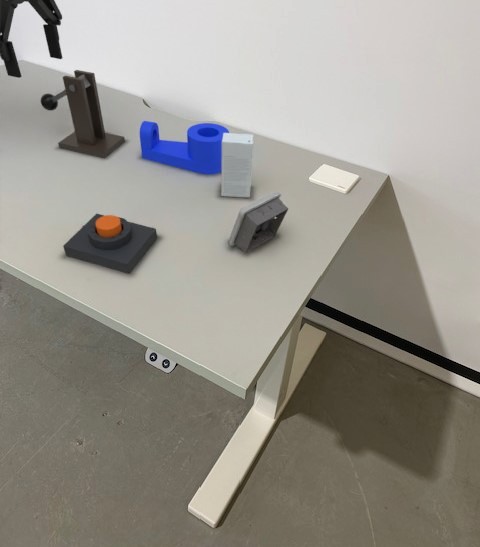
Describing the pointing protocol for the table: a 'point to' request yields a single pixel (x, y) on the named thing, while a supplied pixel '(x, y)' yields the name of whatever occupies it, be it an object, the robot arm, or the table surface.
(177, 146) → the bracket
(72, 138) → the bracket
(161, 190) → the table surface
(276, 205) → the electrical switch
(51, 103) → the lever
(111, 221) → the button
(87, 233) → the button box
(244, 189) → the cosmetic box
